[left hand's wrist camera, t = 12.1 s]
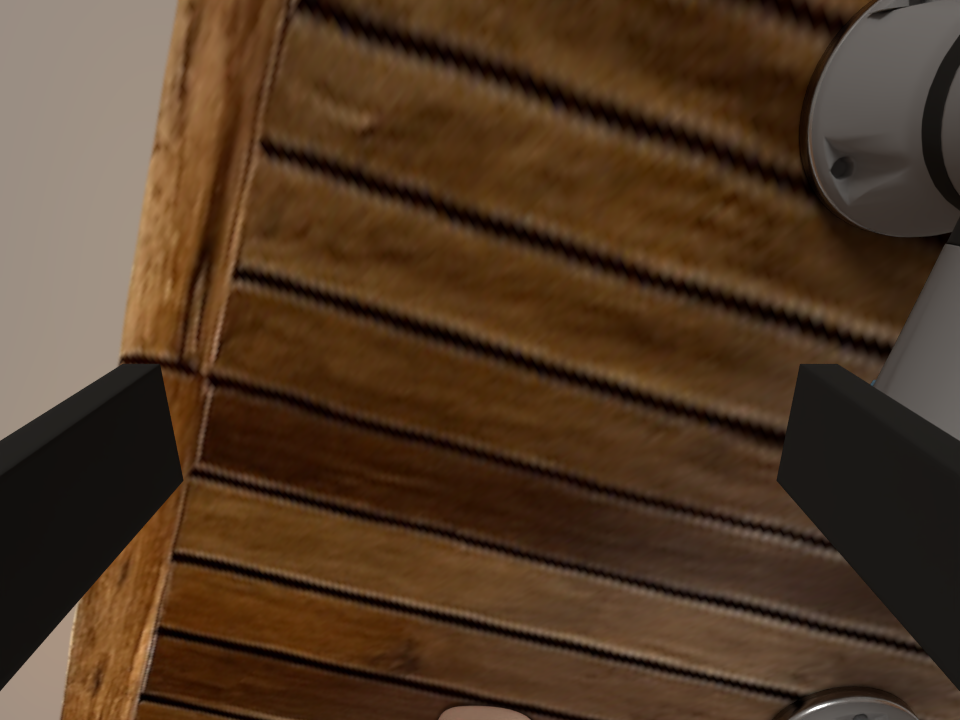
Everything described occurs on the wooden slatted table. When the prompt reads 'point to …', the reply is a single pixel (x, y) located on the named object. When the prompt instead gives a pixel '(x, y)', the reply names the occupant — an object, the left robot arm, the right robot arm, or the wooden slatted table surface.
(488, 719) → the anatomical model
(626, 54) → the wooden slatted table surface
